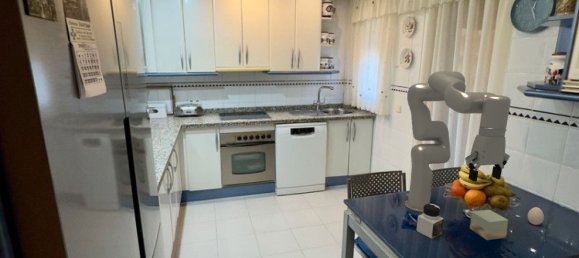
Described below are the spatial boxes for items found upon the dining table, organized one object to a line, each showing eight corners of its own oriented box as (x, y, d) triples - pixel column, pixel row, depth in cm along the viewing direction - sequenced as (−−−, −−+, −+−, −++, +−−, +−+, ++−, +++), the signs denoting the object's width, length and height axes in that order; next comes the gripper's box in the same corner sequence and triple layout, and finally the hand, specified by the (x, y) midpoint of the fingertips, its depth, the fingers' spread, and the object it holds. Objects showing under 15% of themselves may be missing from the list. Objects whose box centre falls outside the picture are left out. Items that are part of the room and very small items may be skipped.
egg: (537, 228, 132) (541, 211, 131) (523, 222, 137) (526, 206, 136) (544, 225, 135) (548, 209, 133) (530, 220, 140) (533, 203, 138)
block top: (470, 220, 132) (471, 211, 131) (488, 218, 134) (489, 209, 133) (488, 231, 123) (489, 222, 122) (506, 229, 125) (508, 219, 124)
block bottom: (469, 229, 132) (470, 220, 131) (487, 227, 134) (488, 218, 133) (486, 240, 124) (488, 231, 123) (505, 238, 126) (507, 229, 125)
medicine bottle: (431, 239, 124) (435, 211, 121) (416, 231, 130) (418, 204, 127) (442, 233, 128) (445, 207, 125) (426, 226, 134) (429, 200, 131)
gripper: (503, 128, 110) (495, 173, 114) (461, 130, 106) (455, 177, 110) (522, 133, 103) (514, 181, 107) (479, 135, 99) (471, 185, 103)
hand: (484, 179), depth 109 cm, fingers open, 9 cm apart
